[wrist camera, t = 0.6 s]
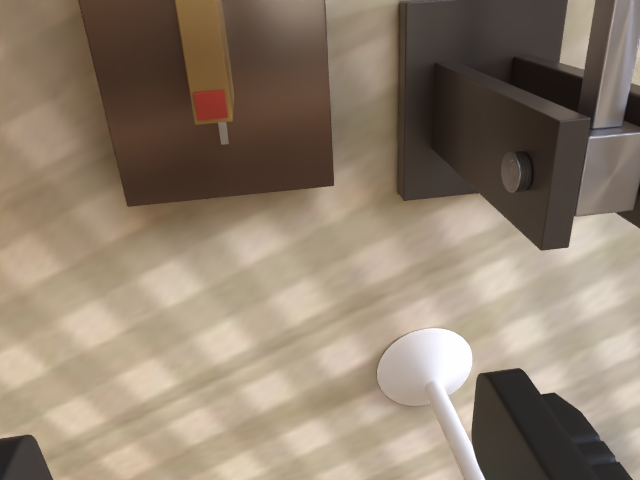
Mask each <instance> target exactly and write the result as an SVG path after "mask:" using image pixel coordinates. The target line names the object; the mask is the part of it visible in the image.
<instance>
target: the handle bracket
mask: <svg viewBox="0 0 640 480" xmlns="http://www.w3.org/2000/svg"><path fill="white" fill-rule="evenodd" d="M567 3H568V0H406V1H400V32H399V143H398V194H399V195H400V196H401V198H402V199H403V200H404V201H407V200H417V199H426V198H436V197H445V196H455V195H464V194H474V193H480V194H481V195H482V196H483V197H484V198H485V199H486V200H487V201H488V202H489V203H490V204H492V205H493V206H494V207H495V208H496V209H497V210H498V211H499V212H500V213H501V214H502V215H503V216H504V217H505V218H507V219H508V220H509V221H510V222H511V223H512V224H513V225H514V226H515V227H516V228H517V229H518V230H519V231H521V232H522V233H523V234H524V235H525V236H526V237H527V238H528V239H529V240H530V241H531V242H532V243H533V244H534V245H536V246H537V247H538V248H539V249H540V250H550V249H559V248H568V247H569V242H570V236H571V230H572V224H573V218H574V213H575V207H576V201H577V195H578V189H579V183H580V178H581V172H582V166H583V160H584V154H585V149H586V143H587V137H588V131H589V125H590V118H589V117H586V116H584V115H582V114H579V113H578V107H579V101H580V95H581V88H582V82H583V76H584V70H583V69H579V68H576V67H572V66H569V65H565V64H562V63H559V60H560V53H561V46H562V39H563V32H564V24H565V17H566V10H567ZM623 121H626V122H629V123H631V124H634V125H636V126H639V127H640V86H639V85H635V84H632V83H631V85H630V90H629V95H628V100H627V105H626V110H625V115H624V120H623ZM615 213H617V214H618V215H620V216H621V217H623V218H624V219H626V220H627V221H629V222H630V223H632V224H634V225H635V226H637V227H638V228H640V186H639V191H638V195H637V199H636V204H635V208H634V210H631V211H622V212H615Z"/></svg>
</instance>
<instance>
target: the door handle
mask: <svg viewBox="0 0 640 480" xmlns="http://www.w3.org/2000/svg"><path fill="white" fill-rule="evenodd" d="M639 40H640V0H596V1H595V7H594V13H593V20H592V26H591V32H590V38H589V45H588V51H587V57H586V63H585V70H584V76H583V82H582V88H581V95H580V101H579V107H578V113H579V114H582V115H584V116H586V117H589V118H590V125H589V131H588V137H587V143H586V149H585V154H584V160H583V166H582V172H581V178H580V183H579V189H578V195H577V201H576V207H575V213H574V216H575V217H577V216H586V215H595V214H604V213H613V212H622V211H631V210H634V208H635V204H636V199H637V195H638V191H639V186H640V127H639V126H636V125H634V124H631V123H629V122H626V121H623V120H624V115H625V110H626V105H627V100H628V95H629V90H630V85H631V80H632V75H633V70H634V65H635V60H636V55H637V50H638V45H639Z"/></svg>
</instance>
